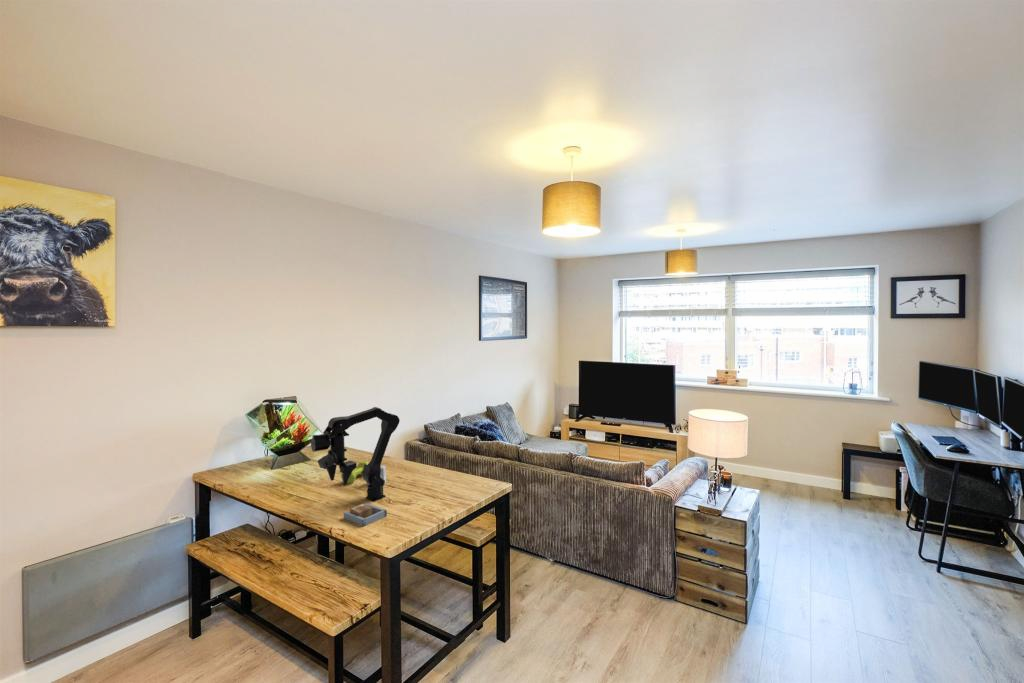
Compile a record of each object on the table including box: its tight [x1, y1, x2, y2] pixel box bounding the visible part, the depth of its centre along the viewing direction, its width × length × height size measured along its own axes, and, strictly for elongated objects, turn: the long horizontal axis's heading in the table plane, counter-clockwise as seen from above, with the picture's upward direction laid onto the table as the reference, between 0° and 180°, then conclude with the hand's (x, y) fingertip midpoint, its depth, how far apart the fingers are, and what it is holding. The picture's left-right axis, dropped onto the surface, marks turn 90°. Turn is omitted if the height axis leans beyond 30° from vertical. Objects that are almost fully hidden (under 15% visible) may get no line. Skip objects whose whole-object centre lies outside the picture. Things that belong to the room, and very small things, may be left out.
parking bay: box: [343, 503, 388, 527], centre depth 192 cm, size 11×13×2 cm
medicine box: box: [367, 465, 387, 486], centre depth 231 cm, size 8×4×9 cm, turn 92°
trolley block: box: [349, 503, 373, 518], centre depth 193 cm, size 6×7×4 cm
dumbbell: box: [340, 460, 370, 485], centre depth 239 cm, size 16×8×7 cm, turn 161°
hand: (338, 482), depth 202 cm, fingers open, 9 cm apart
